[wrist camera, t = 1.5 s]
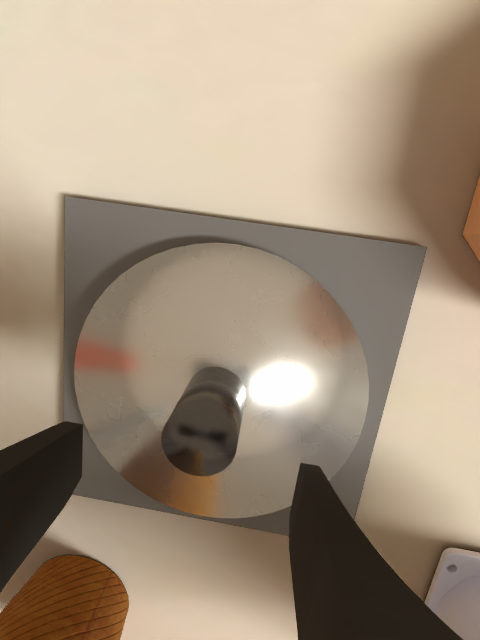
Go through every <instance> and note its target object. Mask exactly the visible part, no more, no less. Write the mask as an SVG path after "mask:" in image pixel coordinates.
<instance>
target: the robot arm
mask: <svg viewBox="0 0 480 640" xmlns="http://www.w3.org/2000/svg"><path fill="white" fill-rule="evenodd" d="M82 454H83V424H79V423H73V422H68V421H65V422H62V423H59V424H57V425H55V426H52V427H50V428H48V429H46V430H44V431H42V432H39V433H37V434H35V435H33V436H31V437H29V438H27V439H24V440H22V441H20V442H18V443H16V444H14V445H11V446H9V447H7V448H5V449H3V450H0V592H1V591H2V589H3V588H4V587H5V585H6V584H7V582H8V581H9V580H10V578H11V577H12V575H13V574H14V573H15V571H16V570H17V569H18V567H19V566H20V565H21V563H22V562H23V561H24V559H25V558H26V557H27V555H28V554H29V553H30V552H31V550H32V549H33V548H34V546H35V545H36V544H37V542H38V541H39V540H40V538H41V537H42V536H43V535H44V533H45V532H46V531H47V529H48V528H49V527H50V525H51V524H52V523H53V521H54V520H55V519H56V517H57V516H58V515H59V513H60V512H61V511H62V509H63V508H64V506H65V505H66V503H67V502H68V500H69V498H70V497H71V495H72V493H73V492H74V490H75V488H76V486H77V485H78V483H79V481H80V479H81V478H82ZM289 552H290V562H291V572H292V582H293V591H294V601H295V611H296V620H297V630H298V640H480V553H479V552H474V551H468V550H463V549H458V548H447V549H445V550H444V551H443V553H442V555H441V558H440V561H439V563H438V566H437V569H436V572H435V575H434V578H433V580H432V583H431V586H430V589H429V592H428V594H427V597H426V600H425V603H424V602H423V601H422V600H421V599H420V598H419V597H418V596H417V595H416V594H415V593H414V592H413V591H412V590H411V589H410V588H409V587H408V586H407V585H406V584H405V583H404V582H403V581H402V580H401V578H400V577H399V576H398V575H397V574H396V573H395V572H394V570H393V569H392V568H391V567H390V566H389V565H388V564H387V562H386V561H385V560H384V559H383V558H382V557H381V555H380V554H379V553H378V552H377V551H376V549H375V548H374V547H373V546H372V544H371V543H370V542H369V540H368V539H367V538H366V536H365V535H364V534H363V532H362V531H361V530H360V528H359V527H358V525H357V524H356V522H355V521H354V520H353V518H352V517H351V515H350V514H349V512H348V511H347V509H346V508H345V506H344V505H343V503H342V502H341V500H340V498H339V497H338V495H337V494H336V492H335V490H334V489H333V487H332V485H331V484H330V482H329V480H328V479H327V477H326V475H325V474H324V472H323V470H322V469H321V467H320V466H317V465H311V464H306V463H300V467H299V472H298V476H297V481H296V486H295V491H294V495H293V500H292V505H291V510H290V515H289ZM449 565H450V566H449Z"/></svg>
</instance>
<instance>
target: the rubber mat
mask: <svg viewBox="0 0 480 640" xmlns="http://www.w3.org/2000/svg"><path fill="white" fill-rule="evenodd" d="M216 242H218V243H231V244H240V245H245V246H249V247H254V248H258V249H261V250H264V251H267V252H269V253H272V254H275V255H278V256H280V257H281V258H283V259H285V260H287V261H289V262H291V263H293V264H295V265H297V266H298V267H299V268H301V269H302V270H304V271H305V272H307V273H308V274H309V275H311V276H312V277H313V278H314V279H316V280H317V281H318V282H319V283H320V284H321V285H322V286H323V287H324V288H325V289H326V290H327V291H328V292H329V293H330V294H331V295H332V297H333V298H334V299H335V300H336V301H337V303H338V304H339V305H340V306H341V307H342V309H343V310H344V312H345V313H346V315H347V317H348V318H349V320H350V322H351V323H352V325H353V326H354V329H355V331H356V333H357V336H358V338H359V340H360V343H361V345H362V349H363V352H364V356H365V360H366V363H367V371H368V379H369V400H368V407H367V413H366V418H365V422H364V425H363V428H362V431H361V434H360V437H359V439H358V441H357V443H356V445H355V447H354V449H353V451H352V453H351V454H350V456H349V457H348V459H347V460H346V462H345V463H344V464H343V466H342V467H341V468H340V469H339V471H338V472H337V473H336V474H335V475H334V476H333V477H332V478H331V479H330V480H329V482H330V484H331V485H332V487H333V489H334V490H335V492H336V494H337V495H338V497H339V498H340V500H341V502H342V503H343V505H344V506H345V508H346V509H347V511H348V512H349V514H350V515H351V517H352V518H353V520H354V519H355V515H356V511H357V507H358V504H359V500H360V496H361V492H362V489H363V485H364V481H365V477H366V474H367V470H368V466H369V462H370V459H371V455H372V451H373V447H374V444H375V440H376V436H377V433H378V429H379V425H380V421H381V418H382V414H383V410H384V406H385V403H386V399H387V395H388V391H389V388H390V384H391V380H392V376H393V373H394V369H395V365H396V361H397V358H398V354H399V350H400V347H401V343H402V339H403V335H404V332H405V328H406V324H407V320H408V317H409V313H410V309H411V305H412V302H413V298H414V294H415V290H416V287H417V283H418V279H419V276H420V272H421V268H422V264H423V261H424V257H425V253H426V249H427V247H423V246H416V245H409V244H402V243H395V242H388V241H381V240H374V239H366V238H359V237H352V236H345V235H338V234H331V233H324V232H317V231H310V230H302V229H295V228H288V227H281V226H274V225H267V224H260V223H253V222H245V221H238V220H231V219H224V218H217V217H210V216H203V215H196V214H189V213H181V212H174V211H167V210H160V209H153V208H146V207H139V206H132V205H125V204H117V203H110V202H103V201H96V200H89V199H82V198H75V197H68V196H65V270H64V390H63V422H65V421H68V422H73V423H79V424H83V454H82V478H81V479H80V481H79V483H78V485H77V486H76V488H75V490H74V492H73V493H72V494H74V495H79V496H84V497H89V498H94V499H100V500H105V501H110V502H115V503H121V504H126V505H131V506H136V507H141V508H147V509H152V510H157V511H162V512H167V513H173V514H178V515H183V516H188V517H194V518H199V519H204V520H209V521H214V522H220V523H225V524H230V525H235V526H241V527H246V528H251V529H256V530H261V531H267V532H272V533H277V534H282V535H287V536H289V515H290V510H291V506H289V507H287V508H284V509H281V510H278V511H275V512H272V513H269V514H264V515H259V516H254V517H245V518H214V517H207V516H200V515H196V514H192V513H187V512H183V511H181V510H178V509H175V508H172V507H170V506H167V505H165V504H163V503H161V502H159V501H157V500H155V499H153V498H151V497H149V496H148V495H146V494H144V493H143V492H141V491H140V490H138V489H137V488H135V487H134V486H133V485H132V484H130V483H129V482H128V481H127V480H125V479H124V478H123V477H122V476H121V475H120V474H119V473H118V472H117V471H116V470H115V469H114V468H113V467H112V466H111V465H110V464H109V463H108V461H107V460H106V459H105V458H104V456H103V455H102V454H101V453H100V451H99V450H98V448H97V446H96V445H95V443H94V442H93V440H92V438H91V437H90V435H89V432H88V430H87V428H86V426H85V424H84V422H83V419H82V416H81V412H80V409H79V406H78V402H77V396H76V391H75V379H74V365H75V354H76V349H77V345H78V340H79V336H80V333H81V331H82V328H83V326H84V323H85V320H86V318H87V317H88V315H89V313H90V311H91V309H92V308H93V306H94V304H95V303H96V301H97V300H98V299H99V297H100V296H101V295H102V294H103V292H104V291H105V290H106V288H108V287H109V286H110V285H111V284H112V283H113V282H114V281H115V280H116V279H117V278H118V277H119V276H120V275H121V274H123V273H124V272H126V271H127V270H128V269H130V268H131V267H133V266H134V265H135V264H137V263H139V262H141V261H143V260H145V259H147V258H149V257H151V256H153V255H155V254H158V253H161V252H164V251H167V250H169V249H172V248H177V247H182V246H187V245H192V244H200V243H216Z"/></svg>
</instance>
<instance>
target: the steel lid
mask: <svg viewBox="0 0 480 640" xmlns="http://www.w3.org/2000/svg"><path fill="white" fill-rule="evenodd" d="M74 379H75V391H76V396H77V402H78V406H79V409H80V412H81V416H82V419H83V422H84V424H85V426H86V428H87V430H88V432H89V435H90V437H91V438H92V440H93V442H94V443H95V445H96V446H97V448H98V450H99V451H100V453H101V454H102V455H103V456H104V458H105V459H106V460H107V461H108V463H109V464H110V465H111V466H112V467H113V468H114V469H115V470H116V471H117V472H118V473H119V474H120V475H121V476H122V477H123V478H124V479H125V480H127V481H128V482H129V483H130V484H132V485H133V486H134V487H135V488H137V489H138V490H140V491H141V492H143V493H144V494H146V495H148V496H149V497H151V498H153V499H155V500H157V501H159V502H161V503H163V504H165V505H167V506H170V507H172V508H175V509H178V510H181V511H183V512H187V513H192V514H196V515H200V516H207V517H214V518H245V517H254V516H259V515H264V514H269V513H272V512H275V511H278V510H281V509H284V508H287V507H289V506H291V505H292V500H293V495H294V491H295V486H296V481H297V476H298V472H299V467H300V463H306V464H311V465H317V466H320V467H321V469H322V470H323V472H324V474H325V475H326V477H327V479H328V480H330V479H331V478H332V477H333V476H334V475H335V474H336V473H337V472H338V471H339V469H340V468H341V467H342V466H343V464H344V463H345V462H346V460H347V459H348V457H349V456H350V454H351V453H352V451H353V449H354V447H355V445H356V443H357V441H358V439H359V437H360V434H361V431H362V428H363V425H364V422H365V418H366V413H367V407H368V400H369V379H368V371H367V363H366V360H365V356H364V352H363V349H362V345H361V343H360V340H359V338H358V336H357V333H356V331H355V329H354V326H353V325H352V323H351V322H350V320H349V318H348V317H347V315H346V313H345V312H344V310H343V309H342V307H341V306H340V305H339V304H338V303H337V301H336V300H335V299H334V298H333V297H332V295H331V294H330V293H329V292H328V291H327V290H326V289H325V288H324V287H323V286H322V285H321V284H320V283H319V282H318V281H317V280H316V279H314V278H313V277H312V276H311V275H309V274H308V273H307V272H305V271H304V270H302V269H301V268H299V267H298V266H297V265H295V264H293V263H291V262H289V261H287V260H285V259H283V258H281V257H280V256H278V255H275V254H272V253H269V252H267V251H264V250H261V249H258V248H254V247H249V246H245V245H240V244H231V243H218V242H216V243H200V244H192V245H187V246H182V247H177V248H172V249H169V250H167V251H164V252H161V253H158V254H155V255H153V256H151V257H149V258H147V259H145V260H143V261H141V262H139V263H137V264H135V265H134V266H133V267H131V268H130V269H128V270H127V271H126V272H124V273H123V274H121V275H120V276H119V277H118V278H117V279H116V280H115V281H114V282H113V283H112V284H111V285H110V286H109V287H108V288H106V290H105V291H104V292H103V294H102V295H101V296H100V297H99V299H98V300H97V301H96V303H95V304H94V306H93V308H92V309H91V311H90V313H89V315H88V317H87V318H86V320H85V323H84V326H83V328H82V331H81V333H80V336H79V340H78V345H77V349H76V354H75V365H74Z"/></svg>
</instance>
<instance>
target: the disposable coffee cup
mask: <svg viewBox="0 0 480 640" xmlns="http://www.w3.org/2000/svg"><path fill="white" fill-rule="evenodd" d="M128 607H129V600H128V595H127V592H126V589H125V587H124V585H123V584H122V582H121V580H120V579H119V578H118V577H117V576H116V575H115V574H114V573H113V572H112V571H111V570H109V569H108V568H107V567H106V566H104V565H102V564H100V563H99V562H96V561H94V560H92V559H89V558H85V557H81V556H72V555H68V556H59V557H56V558H52V559H51V560H49V561H47V562H45V563H44V564H43V565H42V566H41V567H40V568H39V569H38V570H37V572H36V573H35V574H34V575H33V576H32V577H31V579H30V580H29V581H28V582H27V583H26V584H25V585H24V587H23V588H22V589H21V590H20V591H19V592H18V593H17V595H16V596H15V597H14V598H13V599H12V600H11V602H10V603H9V604H8V605H7V606H6V607H5V608H4V609H3V611H2V612H1V613H0V640H120V637H121V634H122V630H123V626H124V623H125V619H126V615H127V612H128Z"/></svg>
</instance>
